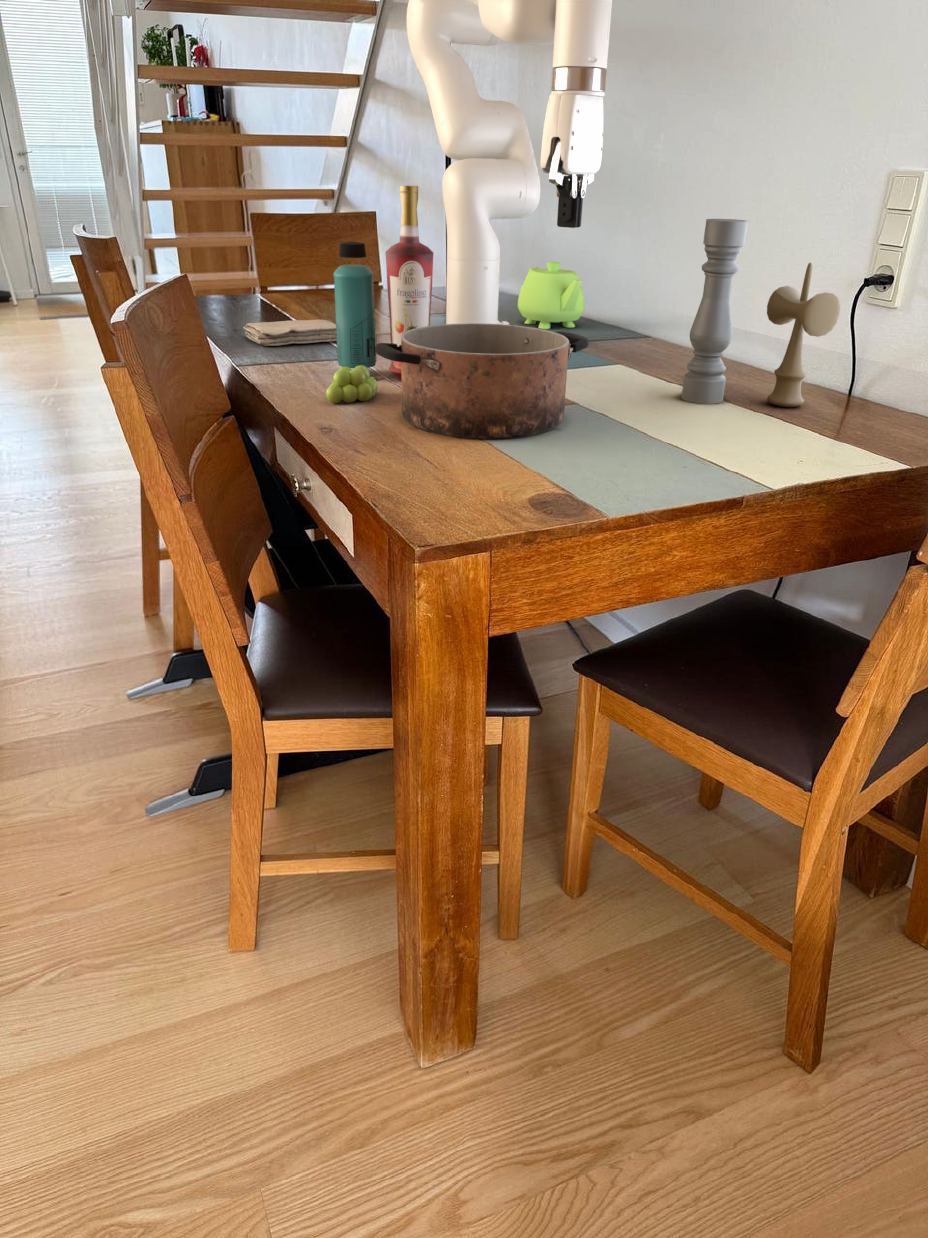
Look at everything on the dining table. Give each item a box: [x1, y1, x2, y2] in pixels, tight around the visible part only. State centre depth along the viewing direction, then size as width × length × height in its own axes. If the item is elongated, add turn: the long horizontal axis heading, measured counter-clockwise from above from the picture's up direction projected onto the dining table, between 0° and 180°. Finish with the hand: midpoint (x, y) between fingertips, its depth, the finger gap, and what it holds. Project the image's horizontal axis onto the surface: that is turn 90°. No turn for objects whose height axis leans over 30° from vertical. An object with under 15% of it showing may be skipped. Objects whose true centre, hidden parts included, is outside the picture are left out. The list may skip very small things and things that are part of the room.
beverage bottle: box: [332, 241, 378, 369], centre depth 145 cm, size 6×7×20 cm
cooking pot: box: [375, 323, 589, 440], centre depth 125 cm, size 30×22×11 cm
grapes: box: [325, 365, 385, 404], centre depth 135 cm, size 12×7×4 cm, turn 143°
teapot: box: [517, 261, 586, 330], centre depth 194 cm, size 20×13×13 cm
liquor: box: [385, 185, 434, 380], centre depth 142 cm, size 7×7×28 cm
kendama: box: [766, 262, 841, 408], centre depth 133 cm, size 6×10×20 cm, turn 20°
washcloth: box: [243, 319, 337, 347], centre depth 175 cm, size 12×18×3 cm, turn 119°
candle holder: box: [680, 218, 749, 405], centre depth 134 cm, size 6×6×25 cm
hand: (568, 226), depth 137 cm, fingers closed
